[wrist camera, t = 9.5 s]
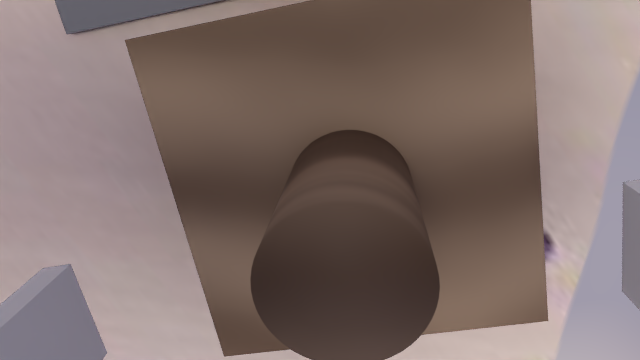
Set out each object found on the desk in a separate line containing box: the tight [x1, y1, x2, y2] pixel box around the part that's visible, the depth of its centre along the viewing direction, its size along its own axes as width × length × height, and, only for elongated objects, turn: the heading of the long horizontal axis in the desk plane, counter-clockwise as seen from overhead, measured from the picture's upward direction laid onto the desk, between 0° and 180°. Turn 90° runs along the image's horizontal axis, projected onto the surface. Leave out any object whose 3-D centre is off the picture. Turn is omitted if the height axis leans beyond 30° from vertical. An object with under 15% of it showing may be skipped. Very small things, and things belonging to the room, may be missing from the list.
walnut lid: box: [125, 0, 548, 360], centre depth 15 cm, size 13×13×8 cm
